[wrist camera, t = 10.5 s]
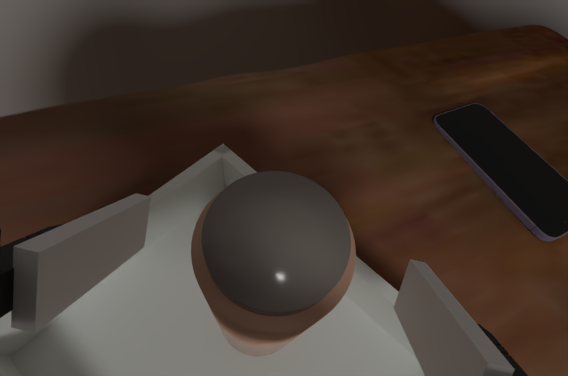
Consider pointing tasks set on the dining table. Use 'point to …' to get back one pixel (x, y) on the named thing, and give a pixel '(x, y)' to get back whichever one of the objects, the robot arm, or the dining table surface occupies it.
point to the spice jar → (271, 258)
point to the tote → (200, 311)
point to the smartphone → (509, 168)
